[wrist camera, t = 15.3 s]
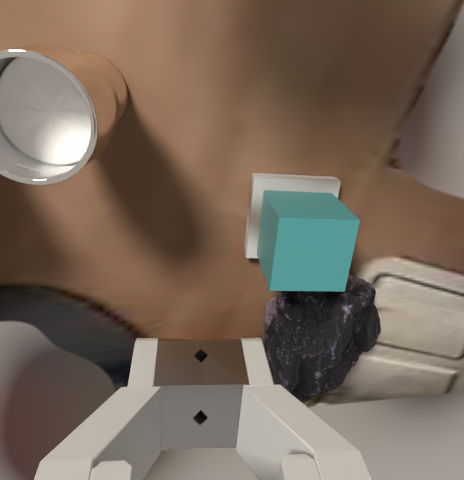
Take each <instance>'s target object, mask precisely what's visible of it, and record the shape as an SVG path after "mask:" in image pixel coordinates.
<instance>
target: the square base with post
mask: <svg viewBox="0 0 464 480" xmlns="http://www.w3.org/2000/svg"><path fill="white" fill-rule="evenodd" d="M340 184H341V181H340V180H339V179H338V178H336V177H330V176H310V175H289V174H268V173H252V176H251V186H250V196H249V207H248V217H247V227H246V237H245V247H244V253H245V256H246V258H258V256H257V246H258V237H259V228H260V219H261V210H262V201H263V192H264V190H273V191H297V192H320V193H332V194H333V195H335V196H336V197H337V198H338V195H339V189H340Z"/></svg>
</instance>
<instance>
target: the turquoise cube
mask: <svg viewBox="0 0 464 480" xmlns="http://www.w3.org/2000/svg"><path fill="white" fill-rule="evenodd" d="M359 223H360V220H359V219H358V218H357V217H356V216H355V215H354V214H353V213H352V212H351V211H350V210H349V209H348V208H347V207H346V206H345V205H344V204H343V203H342V202H341V201H340V200H339V199H338V198H337V197H336V196H335V195H333V194H332V193H320V192H297V191H273V190H264V192H263V201H262V210H261V219H260V228H259V237H258V246H257V256H258V259H259V262H260V265H261V268H262V270H263V273H264V276H265V279H266V282H267V285H268V287H269V290H270V291H339V292H345V288H346V283H347V279H348V274H349V270H350V265H351V260H352V256H353V251H354V246H355V242H356V237H357V232H358V228H359Z"/></svg>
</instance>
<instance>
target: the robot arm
mask: <svg viewBox="0 0 464 480" xmlns="http://www.w3.org/2000/svg"><path fill="white" fill-rule="evenodd" d="M189 448H236V450H237V452H238V453H239V454H240V456H241V457H242V458H243V460H244V461H245V462H246V464H247V465H248V466H249V468H250V469H251V470H252V472H253V473H254V475H255V476H256V477H257V478H258V480H372V479H371V476H370V474H369V472H368V470H367V467H366V465H365V462H364V460H363V458H362V455H361V454H360V451H359V450H358V449H357V448H356V447H354V446H353V445H352V444H351V443H350V442H348V441H347V440H346V439H345V438H344V437H342V436H341V435H340V434H339V433H338V432H336V431H335V430H334V429H333V428H332V427H330V426H329V425H328V424H327V423H325V422H324V421H323V420H322V419H321V418H320V417H318V416H317V415H316V414H315V413H314V412H312V411H311V410H310V409H309V408H308V407H306V406H305V405H304V404H303V403H302V402H300V401H299V400H298V399H297V398H296V397H294V396H293V395H292V394H291V393H290V392H288V391H287V390H286V389H285V388H284V387H282V386H281V385H274V382H273V378H272V374H271V371H270V367H269V364H268V360H267V356H266V353H265V349H264V345H263V342H262V340H261V339H260V338H240V339H173V338H159V340H158V339H157V338H137V339H136V341H135V346H134V352H133V358H132V364H131V370H130V376H129V382H128V387H121V388H120V389H119V390H118V391H116V392H115V393H114V394H113V395H112V396H111V397H110V398H109V399H108V400H107V401H106V402H105V403H103V404H102V405H101V406H100V407H99V408H98V409H97V410H96V411H95V412H94V413H93V414H91V416H89V417H88V418H87V419H86V420H85V421H84V422H83V423H82V424H81V425H80V426H78V427H77V428H76V429H75V430H74V431H73V432H72V433H71V434H70V435H69V436H68V437H67V438H65V439H64V440H63V441H62V442H61V443H60V444H59V445H58V446H57V447H56V448H55V449H53V450H52V451H51V452H50V453H49V454H48V455H47V456H46V457H45V458H44V459H43V460H42V461H41V462H40V464H39V467H38V470H37V473H36V476H35V478H34V480H142V479H143V478H144V476H145V475H146V474H147V472H148V471H149V469H150V468H151V466H152V465H153V463H154V462H155V460H156V459H157V457H158V456H159V454H160V450H173V449H189Z"/></svg>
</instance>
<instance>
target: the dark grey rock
mask: <svg viewBox="0 0 464 480" xmlns="http://www.w3.org/2000/svg"><path fill="white" fill-rule="evenodd" d="M375 294H376V291H375V289H374V287H373V285H372V284H371V283H369V282H366V281H365V280H364V279H360V278H357V277H354V276H352V275H350V274H348V279H347V283H346V288H345V292H339V291H277V294H276V296H274V297H273V298H271V299H270V300H269V301H268V302H267V303H266V305H265V317H264V325H263V333H262V337H261V340H262V342H263V345H264V349H265V353H266V356H267V360H268V364H269V367H270V371H271V374H272V378H273V382H274V385H281V386H282V387H284V388H285V389H286V390H287V391H288V392H290V393H291V394H292V395H293V396H294V397H296V398H297V399H298V400H299V401H301V402H304V401H308V400H309V399H311V398H312V397H313V396H315V395H319V394H321V393H323V392H328V391H330V390H333V389H335V388H337V387H339V386H340V385H341V384H343V381H344V379H345V377H346V375H347V373H348V372H349V371H350V369H351V367H353V366H354V365H355V362H357V361H358V358H359V356H360V355H361V353H362V352H367V351H368V350H370V349H371V348H373V347H374V345H375V343H376V339H377V338H378V335H379V333H380V331H381V327H380V318H379V317H378V312H377V309H376V307H375V305H374V298H375Z"/></svg>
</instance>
